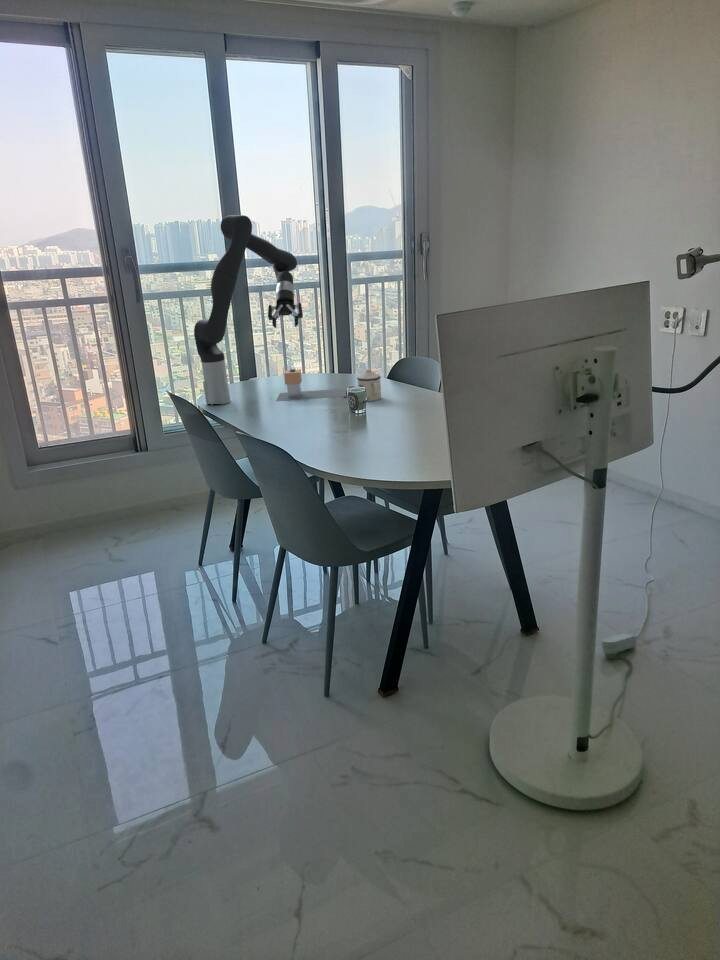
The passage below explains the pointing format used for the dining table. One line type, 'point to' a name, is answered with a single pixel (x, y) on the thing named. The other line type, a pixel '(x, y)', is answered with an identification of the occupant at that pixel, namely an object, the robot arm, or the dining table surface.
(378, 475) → the dining table surface
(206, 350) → the robot arm
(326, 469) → the dining table surface
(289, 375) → the cap lid
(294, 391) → the steel tin
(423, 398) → the dining table surface
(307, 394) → the slate mat
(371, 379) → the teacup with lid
